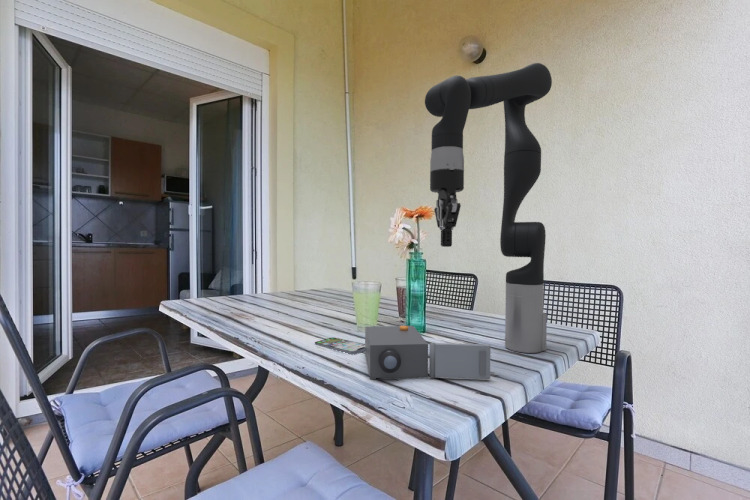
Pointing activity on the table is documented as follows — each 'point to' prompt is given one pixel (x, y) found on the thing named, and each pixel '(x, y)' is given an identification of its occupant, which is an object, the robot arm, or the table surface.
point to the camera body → (395, 352)
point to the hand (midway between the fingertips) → (446, 246)
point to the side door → (459, 361)
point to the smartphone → (342, 345)
